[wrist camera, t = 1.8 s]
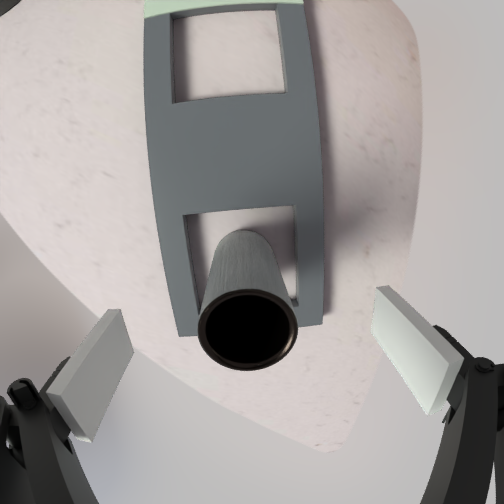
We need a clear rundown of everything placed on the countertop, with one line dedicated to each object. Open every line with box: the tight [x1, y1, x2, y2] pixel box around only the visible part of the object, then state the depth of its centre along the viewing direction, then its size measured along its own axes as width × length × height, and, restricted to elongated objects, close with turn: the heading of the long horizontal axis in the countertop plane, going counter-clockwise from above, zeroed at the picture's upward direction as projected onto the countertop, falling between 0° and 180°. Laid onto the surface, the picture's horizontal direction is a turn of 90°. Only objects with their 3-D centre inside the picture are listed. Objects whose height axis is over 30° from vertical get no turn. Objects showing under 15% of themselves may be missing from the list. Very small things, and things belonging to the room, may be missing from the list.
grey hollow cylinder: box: [197, 230, 298, 371], centre depth 17 cm, size 4×4×10 cm
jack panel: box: [144, 0, 324, 337], centre depth 19 cm, size 28×12×1 cm, turn 4°
